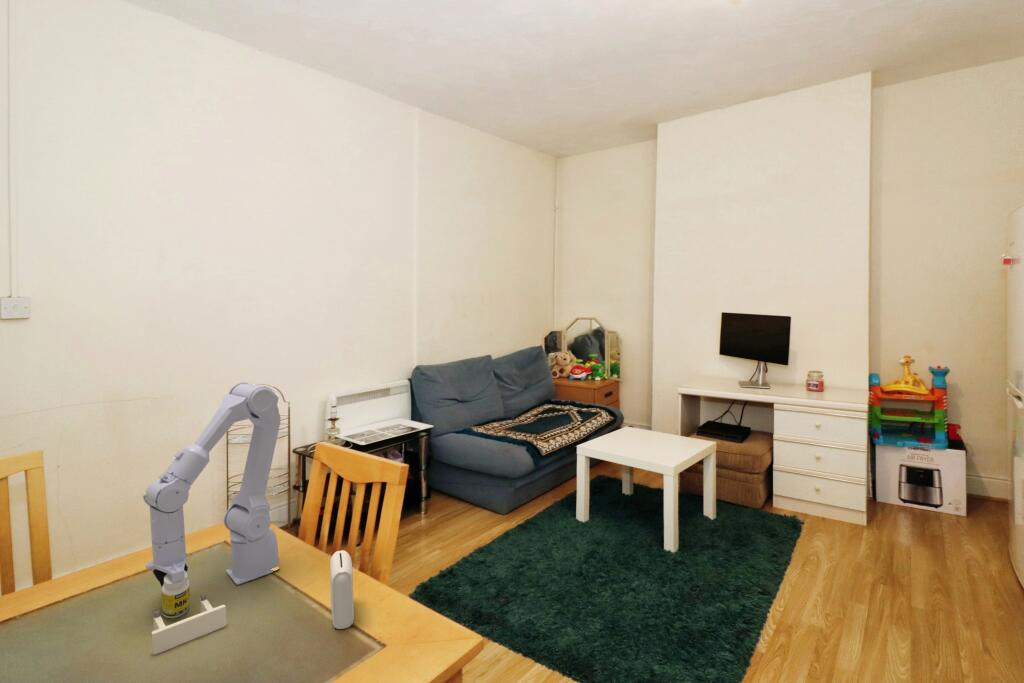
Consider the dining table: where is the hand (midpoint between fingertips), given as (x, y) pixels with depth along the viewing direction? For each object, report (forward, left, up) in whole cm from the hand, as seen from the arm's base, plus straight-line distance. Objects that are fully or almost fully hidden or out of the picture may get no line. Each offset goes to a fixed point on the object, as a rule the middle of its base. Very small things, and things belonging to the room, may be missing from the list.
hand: (172, 600), depth 110 cm
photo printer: (-24, +27, -2) cm, 36 cm away
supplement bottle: (0, +2, -1) cm, 3 cm away
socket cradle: (0, +10, -2) cm, 10 cm away
